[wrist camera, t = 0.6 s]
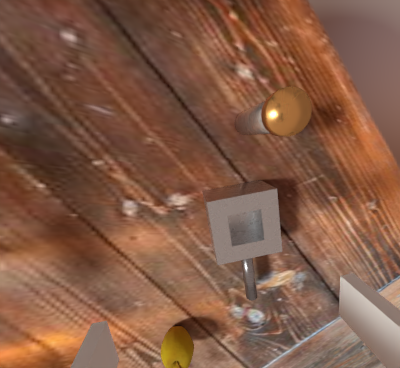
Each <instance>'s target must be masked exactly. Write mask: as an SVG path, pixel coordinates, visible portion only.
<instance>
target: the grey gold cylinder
mask: <svg viewBox="0 0 400 368" xmlns="http://www.w3.org/2000/svg"><path fill="white" fill-rule="evenodd" d="M311 113H312V105H311V101H310V98H309V96H308V95H307V94H306V93H305V91H303V90H302V89H300V88H298V87H285V88H282V89H280V90H278V91H276V92H275V93H273V94H271V95H270V96H269V97H268V98H267V99H266V101H264V102H262V103H260V104H258V105H256V106H253V107H251V108H249V109H247V110H245V111H243V112H241V113H239V114H238V115H237V117H236V119H235V128H236V130H237V131H238V132H239V133H240V134H242V135H253V134H268V133H271V134H273V135H275V136H292V135H295V134H297V133H299V132H300V131H302V130H303V129H304V128H305V127H306V125H307V124H308V122H309V120H310V117H311Z"/></svg>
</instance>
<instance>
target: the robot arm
mask: <svg viewBox="0 0 400 368" xmlns="http://www.w3.org/2000/svg"><path fill="white" fill-rule="evenodd" d="M339 315H340V316H341V317H342V319H343V320H344V321H345V322H346V323H347V324H348V325H349V326H350V328H351V329H352V330H353V331H354V332H355V333H356V334H357V335H358V337H359V338H360V339H361V340H362V341H363V342H364V343H365V344H366V346H367V347H368V348H369V349H370V350H371V351H372V352H373V353H374V355H375V356H376V357H377V358H378V359H379V360H380V361H381V362H382V364H383V365H384V366H385V367H386V368H400V310H399V309H398V308H396V307H395V306H394V305H393V304H391V303H390V302H389V301H388V300H386V299H385V298H384V297H383V296H381V295H380V294H379V293H378V292H376V291H375V290H374V289H372V288H371V287H370V286H369V285H367V284H366V283H365V282H364V281H362V280H361V279H360V278H359V277H357V276H356V275H355V274H354V273H352V274H347V275H342V276H341V277H340V302H339ZM118 361H119V358H118V354H117V351H116V348H115V345H114V342H113V339H112V336H111V333H110V330H109V327H108V324H107V321H103V322H98V323H93V324H92V325H91V327H90V329H89V331H88V333H87V335H86V337H85V339H84V341H83V343H82V345H81V347H80V349H79V351H78V353H77V355H76V358H75V360H74V362H73V364H72V366H71V368H117V365H118Z"/></svg>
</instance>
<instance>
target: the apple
mask: <svg viewBox="0 0 400 368" xmlns="http://www.w3.org/2000/svg"><path fill="white" fill-rule="evenodd" d="M193 351H194V344H193V341H192V339H191V337H190V335H189V333H188V332H187V331H186V329H185V328H184V327H182V326H174V327H172V328H170V329H169V330H168V332H167V333H166V335H165V337H164V340H163V342H162V347H161V359H162V362H163V364H164V366H165V367H166V368H188V367H189V365H190V362H191V359H192V356H193Z"/></svg>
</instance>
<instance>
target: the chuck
mask: <svg viewBox="0 0 400 368" xmlns="http://www.w3.org/2000/svg"><path fill="white" fill-rule="evenodd" d="M202 192H203V197H204V203H205V208H206V214H207V220H208V225H209V231H210V236H211V242H212V246H213V250H214V254H215V257H216V261H217V264H218V265H221V264H225V263H230V262H235V261H240V260H241V262H242V269H243V276H244V283H245V290H246V297H247V299H249V300H255V299H256V298H257V291H256V283H255V275H254V267H253V259H252V258H254V257H258V256H263V255H268V254H273V253H277V252H282V242H281V230H280V218H279V205H278V193H277V188H275V187H273V186H271V185H269V184H267V183H265V182H264V181H262V180H258V181H253V182H247V183H242V184H237V185H232V186H227V187H222V188H216V189H211V190H206V191H202Z"/></svg>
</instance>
